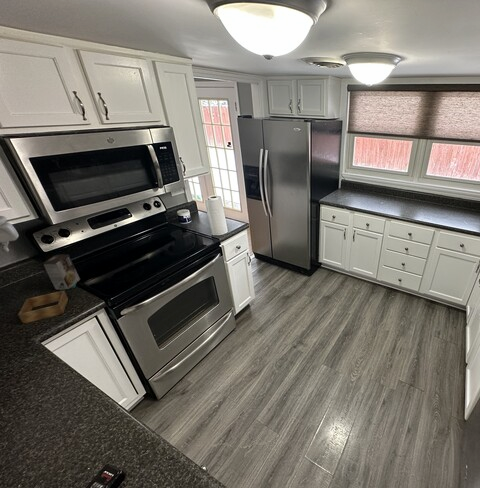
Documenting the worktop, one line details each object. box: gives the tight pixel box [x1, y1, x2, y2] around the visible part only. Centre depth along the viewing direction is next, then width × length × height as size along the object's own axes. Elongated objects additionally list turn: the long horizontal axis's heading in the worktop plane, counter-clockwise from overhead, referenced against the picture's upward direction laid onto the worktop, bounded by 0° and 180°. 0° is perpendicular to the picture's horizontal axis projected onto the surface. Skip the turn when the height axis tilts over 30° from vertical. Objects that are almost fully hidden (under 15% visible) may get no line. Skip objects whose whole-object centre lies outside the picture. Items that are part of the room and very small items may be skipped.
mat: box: [59, 282, 78, 291], centre depth 141 cm, size 6×8×1 cm
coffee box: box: [42, 254, 81, 290], centre depth 137 cm, size 9×6×16 cm
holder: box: [17, 290, 69, 324], centre depth 122 cm, size 13×13×5 cm
